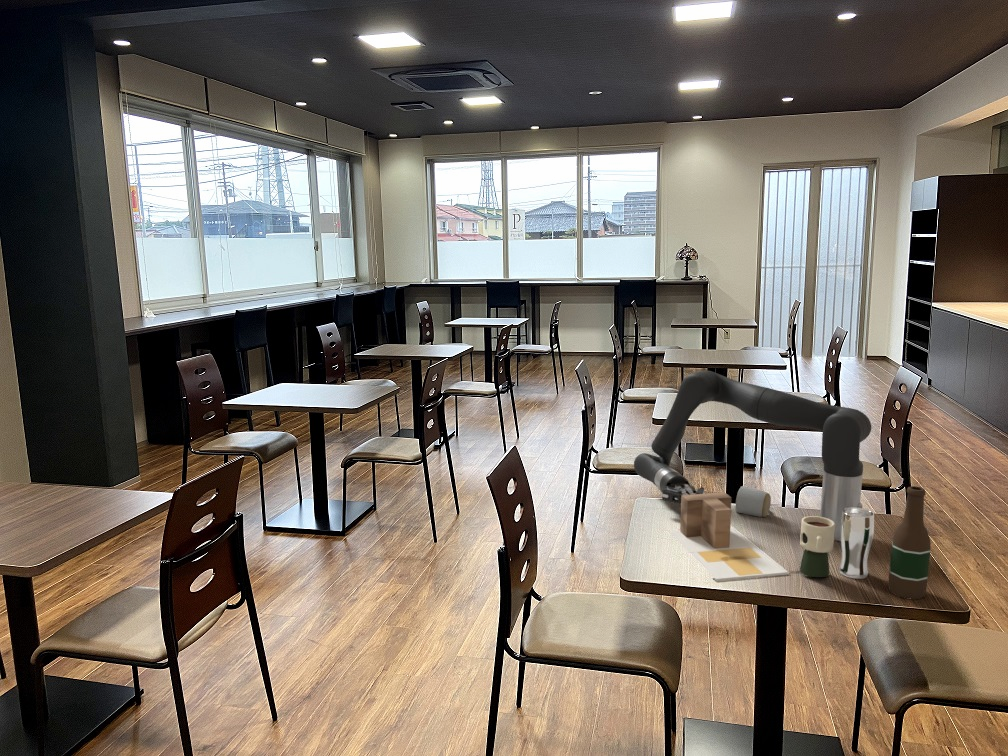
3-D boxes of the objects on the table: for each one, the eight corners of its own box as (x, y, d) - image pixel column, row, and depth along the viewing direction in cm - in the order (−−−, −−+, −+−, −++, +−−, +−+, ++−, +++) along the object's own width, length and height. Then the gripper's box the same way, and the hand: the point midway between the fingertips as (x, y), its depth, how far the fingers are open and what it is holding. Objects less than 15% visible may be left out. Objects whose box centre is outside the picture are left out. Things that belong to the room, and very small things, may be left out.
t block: (680, 531, 202) (681, 495, 200) (722, 528, 204) (724, 492, 202) (699, 550, 190) (700, 511, 188) (744, 546, 192) (746, 508, 190)
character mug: (796, 562, 184) (800, 511, 181) (828, 566, 182) (832, 514, 179) (799, 582, 174) (803, 528, 171) (833, 586, 171) (837, 532, 169)
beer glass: (867, 582, 173) (873, 519, 170) (834, 575, 177) (839, 514, 174) (871, 570, 179) (877, 510, 176) (839, 564, 183) (844, 504, 180)
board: (667, 532, 203) (667, 530, 203) (730, 527, 206) (730, 525, 206) (715, 581, 175) (715, 578, 175) (788, 574, 178) (788, 571, 178)
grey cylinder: (764, 522, 209) (766, 495, 208) (734, 516, 213) (735, 489, 212) (773, 510, 218) (775, 484, 217) (744, 505, 222) (746, 479, 221)
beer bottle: (933, 600, 165) (944, 494, 160) (897, 600, 165) (907, 494, 160) (915, 583, 172) (925, 482, 168) (880, 583, 173) (889, 482, 168)
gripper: (650, 472, 220) (673, 492, 203) (693, 469, 222) (720, 489, 206) (649, 497, 222) (672, 519, 205) (692, 494, 224) (718, 515, 207)
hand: (696, 504), depth 205 cm, fingers closed
